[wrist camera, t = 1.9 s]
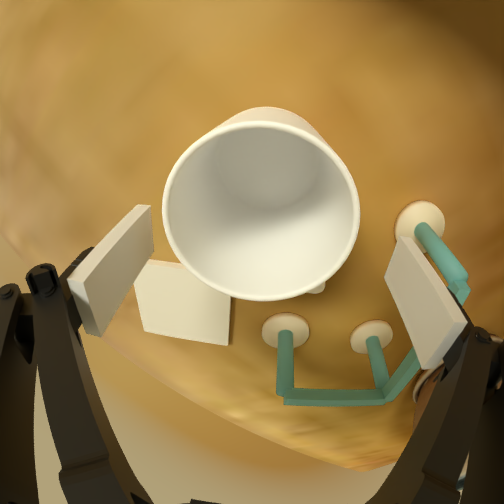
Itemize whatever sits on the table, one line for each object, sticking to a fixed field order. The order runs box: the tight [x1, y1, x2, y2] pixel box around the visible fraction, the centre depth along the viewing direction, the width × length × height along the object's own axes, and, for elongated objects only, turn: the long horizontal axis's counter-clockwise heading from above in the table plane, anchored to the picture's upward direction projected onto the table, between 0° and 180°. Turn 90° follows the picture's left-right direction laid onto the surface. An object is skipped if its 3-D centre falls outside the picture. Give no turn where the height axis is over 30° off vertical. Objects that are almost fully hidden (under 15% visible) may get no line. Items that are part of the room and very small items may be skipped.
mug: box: [162, 107, 360, 301], centre depth 17 cm, size 9×12×11 cm
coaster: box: [134, 259, 231, 346], centre depth 29 cm, size 10×10×1 cm
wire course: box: [262, 200, 471, 406], centre depth 23 cm, size 19×15×9 cm
